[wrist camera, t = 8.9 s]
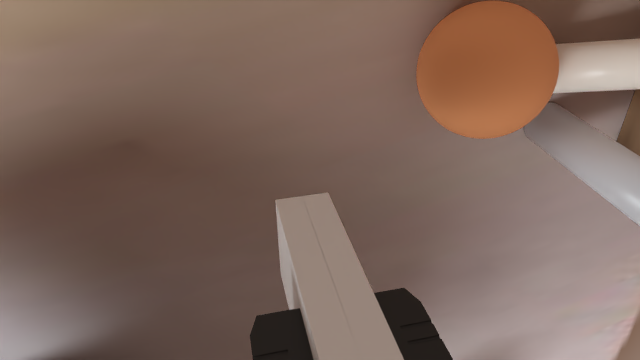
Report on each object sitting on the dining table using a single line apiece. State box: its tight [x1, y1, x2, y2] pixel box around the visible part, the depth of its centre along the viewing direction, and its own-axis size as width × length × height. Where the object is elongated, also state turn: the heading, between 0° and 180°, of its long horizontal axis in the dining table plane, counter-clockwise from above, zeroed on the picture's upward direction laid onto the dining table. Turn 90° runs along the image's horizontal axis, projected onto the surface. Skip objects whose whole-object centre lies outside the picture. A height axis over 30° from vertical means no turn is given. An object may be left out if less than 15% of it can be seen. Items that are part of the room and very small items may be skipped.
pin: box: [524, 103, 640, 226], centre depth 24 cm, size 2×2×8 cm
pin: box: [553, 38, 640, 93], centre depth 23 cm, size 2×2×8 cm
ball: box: [416, 0, 559, 139], centre depth 22 cm, size 6×6×6 cm
